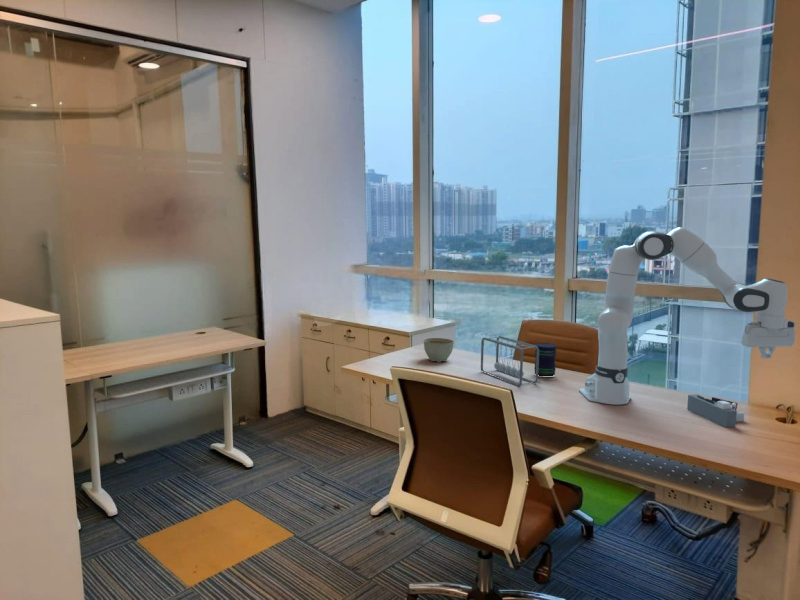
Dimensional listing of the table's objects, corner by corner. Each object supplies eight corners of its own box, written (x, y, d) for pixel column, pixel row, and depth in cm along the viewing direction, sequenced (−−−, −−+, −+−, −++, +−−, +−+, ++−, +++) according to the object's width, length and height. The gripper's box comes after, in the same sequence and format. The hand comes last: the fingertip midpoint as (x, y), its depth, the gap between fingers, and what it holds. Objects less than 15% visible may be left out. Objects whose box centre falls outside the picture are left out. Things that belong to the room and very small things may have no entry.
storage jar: (558, 377, 261) (560, 346, 259) (538, 378, 260) (540, 347, 258) (550, 372, 271) (551, 342, 269) (531, 372, 269) (532, 343, 268)
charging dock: (687, 409, 216) (688, 389, 215) (713, 408, 218) (715, 388, 217) (725, 427, 196) (727, 405, 195) (754, 425, 198) (756, 404, 197)
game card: (711, 396, 211) (736, 402, 204) (716, 398, 214) (741, 404, 207) (707, 413, 210) (732, 420, 203) (712, 415, 213) (737, 422, 206)
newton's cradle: (538, 384, 249) (540, 346, 246) (520, 387, 244) (521, 348, 241) (496, 369, 275) (498, 335, 273) (480, 372, 270) (481, 336, 268)
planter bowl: (444, 365, 282) (444, 345, 280) (417, 361, 290) (417, 341, 289) (458, 359, 295) (459, 340, 294) (432, 355, 304) (433, 336, 302)
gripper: (752, 323, 200) (748, 360, 202) (800, 323, 204) (795, 359, 206) (739, 320, 206) (735, 356, 208) (785, 320, 210) (781, 355, 212)
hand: (765, 358), depth 207 cm, fingers closed
